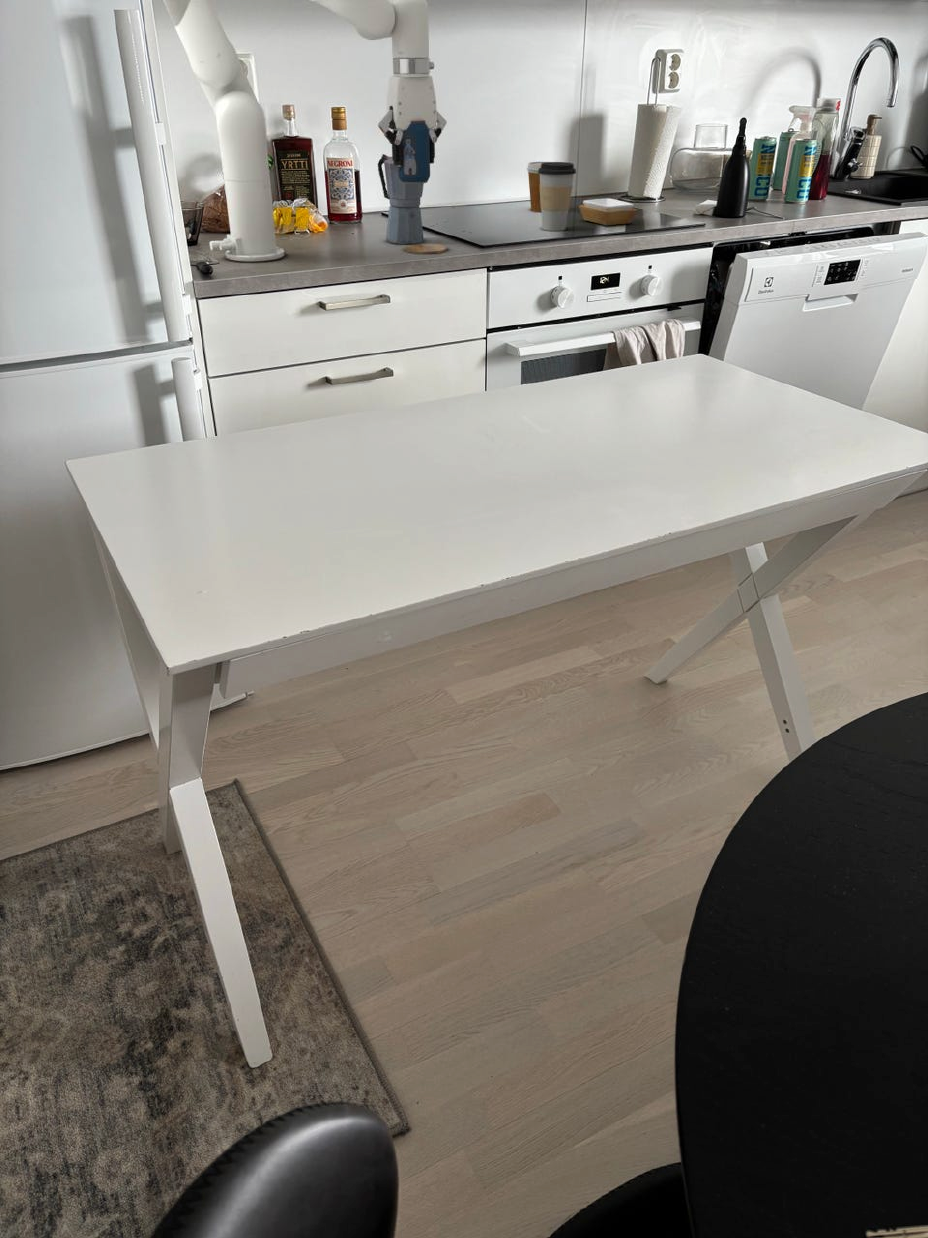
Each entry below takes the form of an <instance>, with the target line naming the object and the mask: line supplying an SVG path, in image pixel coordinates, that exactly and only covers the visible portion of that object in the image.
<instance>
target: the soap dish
mask: <svg viewBox="0 0 928 1238" xmlns="http://www.w3.org/2000/svg"><path fill="white" fill-rule="evenodd" d="M634 206H635V204H634V203H630V202H628V201H623V200H618V199H614V198H608V197H607V198H594V199H585V200H583V201H582V204H580V205H578V207H579V211H580V214H581V217H582V220H584V222H592V223H596V224H599V225H603V226H604V227H610V226H614V225H615V226H616V225H625V224H626V225H630V224H631V223H632V221H633V220H634V218H635V216H636V214H637V212H638V209H636V208H634Z"/></svg>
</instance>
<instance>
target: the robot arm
mask: <svg viewBox="0 0 928 1238" xmlns="http://www.w3.org/2000/svg"><path fill="white" fill-rule="evenodd" d="M162 1H163V4H164V6H165V9H166V11H167V13H168V15H169V18H170V20H171V22H172V24H173V26H174V30H175V32H176V34H177V36H178V38H179V41H180V42H181V44H182V47H183V48H184V51H185V53H186V55H187V58H188V61H189V64H190V68H191V70H192V72H193V74H194V75H195V76H196V79H197V81H198V83H199V84H200V87H201V89H202V91H203V93H204V96H205V97H206V99H207V101H208V104H209V105H210V107H211V110H212V112H213V115H214V116H215V121H216V122H215V123H216V129H217V136H218V143H219V151H220V159H221V165H222V175H223V176H222V177H223V181H224V190H225V198H226V205H227V215H228V223H229V231H230V234H226V237H225V238H223V240H210V241H209V248H210V251H212V252H214V251H221V252H223V251H224V252H225V258H226V259H228V260H230V261H235V262H249V263H251V262H254V263H255V262H267V261H274V260H279V259H282V258H284V256H285V250H284V248H281V247H279V246H277V236H276V226H275V225H276V224H275V216H274V206H273V195H272V186H271V185H272V184H271V177H270V167H269V166H270V165H269V154H268V143H267V128H266V127H267V125H266V119H265V113H264V110H263V108H262V106H261V104H260V102H259V100H258V98H257V97H256V94H255V92H254V90H253V87H252V84H251V83H250V81H249V79H248V76H247V74H246V72H245V69H244V68H243V64H242V63H241V60H240V58H239V56H238V53H237V51H236V48H235V47H234V45H233V44H232V42H231V41H230V40H229V37H228V35H227V34H226V32H225V29H224V28H223V25H222V24H221V21H220V19H219V17H218V14H217V12H216V9H215V7H214V5H213V2H212V0H162ZM309 1H311V2H313V3H315V4H318V5H320V6H322V7H324V8H326V9H327V10H329V11H330V12H332V13H334V14H335V15H337V16H338V17H340V18H341V19H343V20H344V21H345V22H347V23H348V24H350V25H351V26H352V27H353V28H354V31H355V32H356V33H357V34H358V35H359V36H360V37H361V38H363V39H365V40H369V41H379V40H382V39H387V38H391V49H392V50H391V51H392V52H391V53H392V54H391V55H392V74H393V75H392V76H389V79H388V83H387V84H388V85H387V95H386V113H385V115H384V116H383V117H382V118H381V119H380V121H379V122H378V123H377V127H378V129H379V130H380V131H381V132H382V134H383V136H384V137H385V138H386V139H387V140H388V142H389V144H390V145H391V157H392V159H393V161H394V165H398V166H402V165H403V146H402V145H400V142H401V139H402V136H403V131H404V130H406V129H407V128H408V126H409V125H410V124H411V123H410V122H411V121H425V123H426V125H427V126H428V128H429V142H430V165H433V164H434V163H435V157H436V144H435V143H438V138H439V137H440V136H441V135H442V131H444V128H445V127H446V125H447V120H446V119H445V118H444V116H443V115H442V114H440V112H439V111H438V110H437V100H436V99H437V98H436V90H435V84H434V80H433V76H432V75H430V74H431V70H434V69H435V62H434V61H431V59H430V37H429V36H430V35H429V31H430V30H429V4H428V1H427V0H309Z"/></svg>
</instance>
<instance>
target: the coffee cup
mask: <svg viewBox="0 0 928 1238" xmlns="http://www.w3.org/2000/svg"><path fill="white" fill-rule="evenodd" d="M544 162H545V163H542V164H541V168H539V171H538V173H540V204H541V212H540V213H541V229H542V231H543V230H544V231H548V232H562V231H565V230H566V229H567V228H566V227H567V222H568V214H569V210H570V206H571V199H572V194H573V193H572V192H573V181H574V175H575V174H577V171H576V168H575V165H574V163H573V162H566V161H544Z"/></svg>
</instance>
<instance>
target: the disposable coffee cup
mask: <svg viewBox="0 0 928 1238" xmlns="http://www.w3.org/2000/svg"><path fill="white" fill-rule="evenodd" d="M545 162H546V161H530V162H528V164H527V167H526V171H527V174H528V188H529V201H530V211H531V212H536V213H541V204H540V173H538V171H539V168H541V164H542V163H545Z"/></svg>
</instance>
